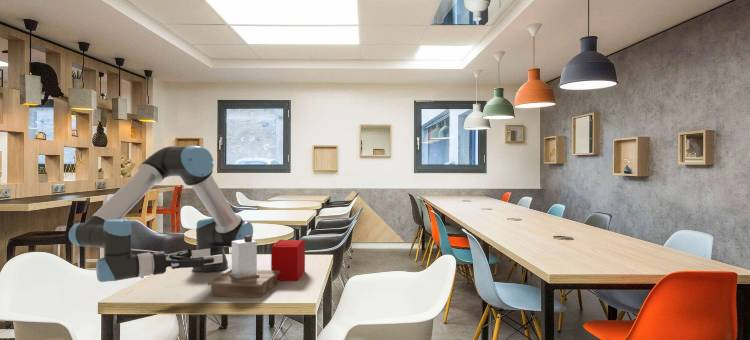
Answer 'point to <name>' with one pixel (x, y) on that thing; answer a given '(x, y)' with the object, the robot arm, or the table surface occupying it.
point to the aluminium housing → (244, 259)
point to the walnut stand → (244, 284)
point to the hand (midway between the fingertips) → (216, 255)
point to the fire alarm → (288, 259)
